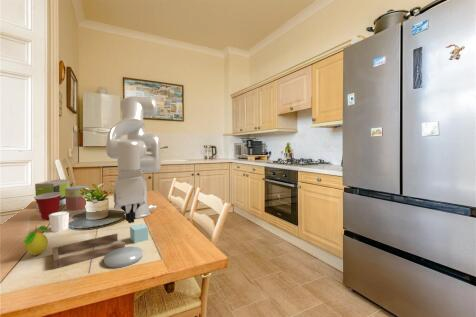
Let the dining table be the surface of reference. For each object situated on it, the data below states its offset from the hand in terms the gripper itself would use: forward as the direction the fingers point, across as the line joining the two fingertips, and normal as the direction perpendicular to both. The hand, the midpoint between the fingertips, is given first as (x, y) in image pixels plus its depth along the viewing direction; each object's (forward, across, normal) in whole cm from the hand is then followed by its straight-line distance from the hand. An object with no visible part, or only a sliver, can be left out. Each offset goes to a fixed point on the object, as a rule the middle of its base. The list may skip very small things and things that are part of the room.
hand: (130, 221), depth 86 cm
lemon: (+8, +27, -8) cm, 29 cm away
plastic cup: (+9, +23, -54) cm, 59 cm away
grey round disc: (+7, +6, +13) cm, 16 cm away
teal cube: (+8, -3, 0) cm, 8 cm away
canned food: (+10, +10, -67) cm, 68 cm away
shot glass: (+8, +20, -32) cm, 39 cm away
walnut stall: (+7, +13, +1) cm, 15 cm away
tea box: (+10, +20, -83) cm, 86 cm away
